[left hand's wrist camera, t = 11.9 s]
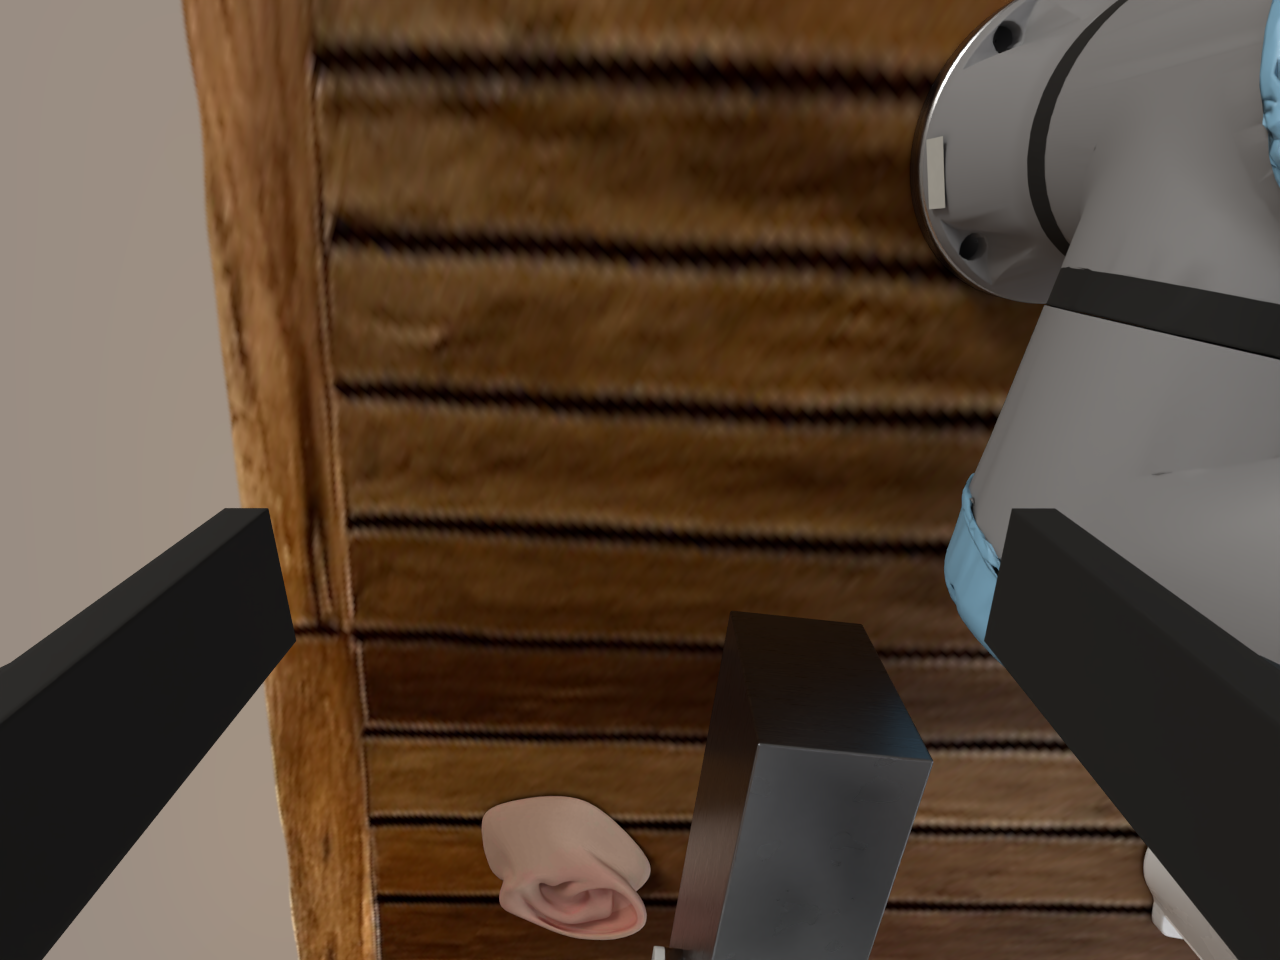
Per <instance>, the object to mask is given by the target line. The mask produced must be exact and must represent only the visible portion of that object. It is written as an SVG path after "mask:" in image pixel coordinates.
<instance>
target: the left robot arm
mask: <svg viewBox="0 0 1280 960" xmlns="http://www.w3.org/2000/svg"><path fill="white" fill-rule="evenodd" d="M910 185H911V195H912V201H913V206H914V211H915V214H916V217H917V220H918V224H919V226H920V229H921V231H922V233H923V236H924V238H925V239H926V241H927V243H928V245H929V247H930V248H931V250H932V251H933V252H934V254H935V255H936V257H937V258H938V259H939V260H940V262H941V263H942V264H943V265H944V266H945V267H946V268H947V269H948V270H949V271H950V272H951V273H953V274H954V275H955V276H956V277H957V278H959V279H960V280H962V281H963V282H965V283H966V284H968V285H970V286H972V287H974V288H976V289H977V290H980V291H982V292H985V293H988V294H990V295H994V296H998V297H1002V298H1006V299H1010V300H1014V301H1019V302H1026V303H1039V304H1045V303H1046V304H1047V305H1050V306H1047V305H1044V307H1043V310H1042V312H1041V315H1040V317H1039V320H1038V322H1037V325H1036V327H1035V329H1034V332H1033V334H1032V337H1031V339H1030V342H1029V344H1028V347H1027V349H1026V351H1025V354H1024V356H1023V359H1022V361H1021V364H1020V366H1019V369H1018V371H1017V373H1016V376H1015V378H1014V381H1013V383H1012V386H1011V388H1010V391H1009V393H1008V395H1007V398H1006V400H1005V403H1004V405H1003V408H1002V410H1001V413H1000V415H999V417H998V420H997V422H996V425H995V427H994V430H993V432H992V434H991V437H990V439H989V441H988V444H987V446H986V448H985V451H984V453H983V455H982V457H981V460H980V462H979V464H978V467H977V469H976V471H975V473H973V474H971V476H970V477H969V479H968V480H967V482H966V485H965V488H964V489H963V493H962V508H961V511H960V514H959V517H958V520H957V523H956V527H955V530H954V532H953V535H952V538H951V541H950V543H949V546H948V549H947V553H946V557H945V565H944V573H945V581H946V585H947V588H948V590H949V593H950V596H951V598H952V600H953V601H954V603H955V604H956V605H957V611H958V613H959V615H960V617H961V618H962V620H963V621H964V623H965V624H966V626H967V627H968V628H969V630H970V631H971V632H972V634H973V635H974V636H975V637H976V638H977V640H978V641H979V642H980V643H981V644H982V645H983V646H984V647H985V648H986V649H987V651H988V652H989V653H990V654H991V655H992V656H993V657H994V658H995V659H996V660H997V661H998V662H1000V663H1001V664H1002V665H1003V666H1004V667H1005V668H1006V669H1007V671H1008V672H1009V673H1010V674H1011V676H1012V677H1013V678H1014V679H1015V681H1016V682H1017V683H1018V684H1019V686H1020V687H1021V688H1022V689H1023V691H1024V692H1025V693H1026V694H1027V696H1028V697H1029V698H1030V699H1031V701H1032V702H1033V703H1034V704H1035V706H1036V707H1037V708H1038V709H1039V711H1040V712H1041V713H1042V714H1043V716H1044V717H1045V718H1046V719H1047V721H1048V722H1049V723H1050V724H1051V726H1052V727H1053V728H1054V730H1055V731H1056V732H1057V733H1058V735H1059V736H1060V737H1061V738H1062V740H1063V741H1064V742H1065V743H1066V745H1067V746H1068V747H1069V748H1070V750H1071V751H1072V752H1073V753H1074V755H1075V756H1076V757H1077V758H1078V760H1079V761H1080V762H1081V763H1082V765H1083V766H1084V767H1085V768H1086V770H1087V771H1088V772H1089V773H1090V775H1091V776H1092V777H1093V778H1094V780H1095V781H1096V782H1097V783H1098V785H1099V786H1100V787H1101V788H1102V790H1103V791H1104V792H1105V794H1106V795H1107V796H1108V797H1109V799H1110V800H1111V801H1112V802H1113V804H1114V805H1115V806H1116V807H1117V809H1118V810H1119V811H1120V812H1121V814H1122V815H1123V816H1124V817H1125V819H1126V820H1127V821H1128V822H1129V824H1130V825H1131V826H1132V827H1133V829H1134V830H1135V831H1136V832H1137V834H1138V835H1139V836H1140V837H1141V839H1142V840H1143V841H1144V842H1145V844H1146V845H1147V846H1148V847H1149V849H1150V850H1151V851H1152V853H1153V854H1154V855H1155V856H1156V858H1157V859H1158V860H1159V861H1160V863H1161V864H1162V865H1163V866H1164V868H1165V869H1166V870H1167V871H1168V873H1169V874H1170V875H1171V876H1172V878H1173V879H1174V880H1175V881H1176V883H1177V884H1178V885H1179V886H1180V888H1181V889H1182V890H1183V891H1184V893H1185V894H1186V895H1187V896H1188V898H1189V899H1190V900H1191V901H1192V903H1193V904H1194V905H1195V906H1196V908H1197V909H1198V910H1199V911H1200V913H1201V914H1202V915H1203V917H1204V918H1205V919H1206V920H1207V922H1208V923H1209V924H1210V925H1211V927H1212V928H1213V929H1214V930H1215V932H1216V933H1217V934H1218V935H1219V937H1220V938H1221V939H1222V940H1223V942H1224V943H1225V944H1226V945H1227V947H1228V948H1229V949H1230V950H1231V952H1232V953H1233V954H1234V955H1235V957H1236V958H1237V959H1238V960H1280V0H1013V1H1011V2H1010V3H1008V4H1007V5H1005V6H1004V7H1002V8H1000V9H999V10H997V11H996V12H995V13H993V14H992V15H991V16H990V17H988V18H987V19H986V20H984V21H983V22H982V23H981V24H980V25H979V26H978V27H977V28H976V29H974V30H973V31H972V32H971V33H970V34H969V35H968V37H967V38H966V39H965V40H964V41H963V42H962V43H961V44H960V45H959V46H958V48H957V49H956V50H955V52H954V53H953V54H952V55H951V57H950V58H949V59H948V61H947V62H946V64H945V65H944V67H943V68H942V70H941V71H940V73H939V75H938V76H937V78H936V80H935V82H934V84H933V86H932V87H931V89H930V92H929V94H928V96H927V98H926V100H925V103H924V105H923V108H922V111H921V114H920V116H919V119H918V123H917V127H916V131H915V134H914V140H913V145H912V151H911V163H910ZM1056 307H1057V308H1056ZM1061 308H1062V309H1061ZM1065 309H1067V310H1065ZM1070 310H1072V311H1070ZM1074 311H1077V312H1074ZM1079 312H1082V313H1079ZM1083 313H1087V314H1083ZM1088 314H1091V315H1088ZM1092 315H1095V316H1092ZM1097 316H1100V317H1097ZM1101 317H1104V318H1101ZM1106 318H1108V319H1106ZM1110 319H1113V320H1110ZM1115 320H1117V321H1115ZM1119 321H1121V322H1119ZM1123 322H1126V323H1123ZM1128 323H1130V324H1128ZM1132 324H1134V325H1132ZM1137 325H1139V326H1137ZM1141 326H1143V327H1141ZM1146 327H1147V328H1146ZM1150 328H1151V329H1150ZM1154 329H1155V330H1154ZM1224 345H1225V346H1224ZM1233 347H1234V348H1233ZM295 642H296V638H295V633H294V629H293V624H292V619H291V614H290V610H289V605H288V600H287V595H286V591H285V586H284V581H283V576H282V572H281V567H280V562H279V557H278V553H277V548H276V543H275V538H274V534H273V529H272V524H271V519H270V514H269V510H268V508H225V509H223V510H222V511H220V512H219V513H218V514H216V515H215V516H214V517H212V518H211V519H209V520H208V521H207V522H205V523H204V524H202V525H201V526H200V527H198V528H197V529H195V530H194V531H193V532H191V533H190V534H189V535H187V536H186V537H184V538H183V539H182V540H180V541H179V542H177V543H176V544H175V545H173V546H172V547H170V548H169V549H168V550H166V551H165V552H164V553H162V554H161V555H159V556H158V557H157V558H155V559H154V560H152V561H151V562H150V563H148V564H147V565H145V566H144V567H143V568H141V569H140V570H139V571H137V572H136V573H134V574H133V575H132V576H130V577H129V578H127V579H126V580H125V581H123V582H122V583H121V584H119V585H118V586H116V587H115V588H114V589H112V590H111V591H109V592H108V593H107V594H105V595H104V596H102V597H101V598H100V599H98V600H97V601H96V602H94V603H93V604H91V605H90V606H89V607H87V608H86V609H85V610H83V611H82V612H80V613H79V614H77V615H76V616H75V617H73V618H72V619H71V620H69V621H68V622H66V623H65V624H64V625H62V626H61V627H59V628H58V629H57V630H55V631H54V632H53V633H51V634H50V635H48V636H47V637H46V638H44V639H43V640H41V641H40V642H39V643H37V644H36V645H34V646H33V647H32V648H30V649H29V650H28V651H26V652H25V653H23V654H22V655H21V656H19V657H18V658H16V659H15V660H14V661H12V662H11V663H9V664H7V665H5V666H3V667H1V668H0V960H42V959H43V958H44V957H45V955H46V954H47V953H48V952H49V950H50V949H51V948H52V947H53V945H54V944H55V943H56V942H57V940H58V939H59V938H60V937H61V935H62V934H63V933H64V932H65V930H66V929H67V928H68V927H69V925H70V924H71V923H72V921H73V920H74V919H75V918H76V916H77V915H78V914H79V913H80V911H81V910H82V909H83V908H84V906H85V905H86V904H87V903H88V901H89V900H90V899H91V898H92V896H93V895H94V894H95V893H96V891H97V890H98V889H99V888H100V886H101V885H102V884H103V883H104V881H105V880H106V879H107V878H108V876H109V875H110V874H111V873H112V871H113V870H114V869H115V868H116V866H117V865H118V864H119V863H120V861H121V860H122V859H123V857H124V856H125V855H126V854H127V853H128V851H129V850H130V849H131V847H132V846H133V845H134V844H135V842H136V841H137V840H138V839H139V837H140V836H141V835H142V834H143V832H144V831H145V830H146V829H147V827H148V826H149V825H150V824H151V822H152V821H153V820H154V819H155V817H156V816H157V815H158V814H159V812H160V811H161V810H162V809H163V807H164V806H165V805H166V804H167V802H168V801H169V800H170V799H171V797H172V796H173V795H174V793H175V792H176V791H177V790H178V788H179V787H180V786H181V785H182V783H183V782H184V781H185V780H186V778H187V777H188V776H189V775H190V773H191V772H192V771H193V770H194V768H195V767H196V766H197V765H198V763H199V762H200V761H201V760H202V758H203V757H204V756H205V755H206V753H207V752H208V751H209V750H210V748H211V747H212V746H213V745H214V743H215V742H216V741H217V739H218V738H219V737H220V736H221V735H222V733H223V732H224V731H225V730H226V728H227V727H228V726H229V724H230V723H231V722H232V721H233V719H234V718H235V717H236V716H237V714H238V713H239V712H240V711H241V709H242V708H243V707H244V706H245V704H246V703H247V702H248V701H249V699H250V698H251V697H252V696H253V694H254V693H255V692H256V691H257V689H258V688H259V687H260V686H261V684H262V683H263V682H264V681H265V679H266V678H267V677H268V676H269V674H270V673H271V672H272V671H273V669H274V668H275V667H276V665H277V664H278V663H279V662H280V660H281V659H282V658H283V657H284V655H285V654H286V653H287V652H288V650H289V649H290V648H291V647H292V645H293V644H294V643H295Z"/></svg>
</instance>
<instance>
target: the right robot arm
mask: <svg viewBox="0 0 1280 960" xmlns="http://www.w3.org/2000/svg"><path fill="white" fill-rule="evenodd" d="M1143 871H1144V877H1145V881H1146V884H1147V886H1148V888H1149V890H1150V891H1151V893H1152V896H1153V899H1154V903H1153V909H1152V921H1153V923H1154V924H1155V925H1156V927H1157V928H1158V929H1159V930H1160V931H1161V932H1162V934H1164V935H1165V936H1168V937H1173V938H1179V939H1184V940H1185V941H1186V943H1187V944H1188V945H1189V946H1190V947H1191V949H1192V950H1193V951H1194V952H1195V953H1196V955H1197V956H1198V957H1199V958H1200V959H1201V960H1238V959H1237V958H1236V957H1235V955H1234V954H1233V953H1232V952H1231V950H1230V949H1229V948H1228V947H1227V945H1226V944H1225V943H1224V942H1223V940H1222V939H1221V938H1220V937H1219V935H1218V934H1217V933H1216V932H1215V930H1214V929H1213V928H1212V927H1211V925H1210V924H1209V923H1208V922H1207V920H1206V919H1205V918H1204V917H1203V915H1202V914H1201V913H1200V911H1199V910H1198V909H1197V908H1196V906H1195V905H1194V904H1193V903H1192V901H1191V900H1190V899H1189V898H1188V896H1187V895H1186V894H1185V893H1184V891H1183V890H1182V889H1181V888H1180V886H1179V885H1178V884H1177V883H1176V881H1175V880H1174V879H1173V878H1172V876H1171V875H1170V874H1169V873H1168V871H1167V870H1166V869H1165V868H1164V866H1163V865H1162V864H1161V863H1160V861H1159V860H1158V859H1157V858H1156V856H1155V855H1154V854H1153V853H1152V851H1151V850H1150V849H1149V847H1148V848H1147V851H1146V854H1145V858H1144V865H1143ZM652 960H683V949H680V948H670V947H661V946H654V949H653V955H652Z"/></svg>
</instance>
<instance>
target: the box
mask: <svg viewBox="0 0 1280 960" xmlns="http://www.w3.org/2000/svg"><path fill="white" fill-rule="evenodd" d="M932 765H933V760H932V758H931V756H930V754H929V752H928V750H927V748H926V746H925V744H924V742H923V740H922V739H921V737H920V735H919V733H918V731H917V729H916V727H915V725H914V723H913V721H912V719H911V717H910V716H909V714H908V712H907V710H906V708H905V706H904V704H903V702H902V700H901V698H900V696H899V694H898V693H897V691H896V689H895V687H894V685H893V683H892V681H891V679H890V677H889V675H888V673H887V671H886V670H885V668H884V666H883V664H882V662H881V660H880V658H879V656H878V654H877V652H876V650H875V648H874V647H873V645H872V643H871V641H870V639H869V637H868V635H867V633H866V631H865V629H864V627H863V625H861V624H854V623H845V622H835V621H825V620H816V619H806V618H796V617H787V616H777V615H767V614H758V613H748V612H738V611H731V612H730V616H729V622H728V627H727V633H726V638H725V644H724V649H723V655H722V660H721V666H720V671H719V677H718V682H717V688H716V693H715V699H714V704H713V710H712V715H711V721H710V726H709V732H708V737H707V743H706V748H705V754H704V759H703V765H702V770H701V776H700V781H699V787H698V792H697V798H696V803H695V809H694V814H693V820H692V825H691V831H690V836H689V842H688V847H687V853H686V858H685V864H684V869H683V875H682V880H681V886H680V891H679V897H678V902H677V908H676V913H675V919H674V924H673V930H672V935H671V941H670V946H669V947H670V948H680V949H683V960H868V958H869V955H870V952H871V949H872V946H873V943H874V940H875V937H876V934H877V931H878V928H879V925H880V922H881V919H882V916H883V913H884V910H885V907H886V904H887V901H888V898H889V895H890V892H891V889H892V886H893V883H894V880H895V877H896V874H897V871H898V867H899V864H900V861H901V858H902V855H903V852H904V849H905V846H906V843H907V840H908V837H909V834H910V831H911V828H912V825H913V822H914V819H915V816H916V813H917V810H918V807H919V804H920V801H921V798H922V795H923V792H924V789H925V786H926V783H927V780H928V777H929V774H930V771H931V768H932Z"/></svg>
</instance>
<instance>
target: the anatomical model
mask: <svg viewBox="0 0 1280 960" xmlns="http://www.w3.org/2000/svg"><path fill="white" fill-rule="evenodd" d="M482 837H483V845H484V851H485V854H486V857H487V860H488V863H489V866H490V868H491V870H492V871H493V873H494V874H495V875H496V876H497V877H498V878H500V879H501V880H503V884H502V887H501V891H500V895H499V900H500V904H501V906H502V907H503V908H504V909H505V910H506V911H508V912H510V913H512V914H514V915H516V916H519V917H521V918H523V919H526V920H528V921H530V922H533V923H535V924H537V925H540V926H542V927H544V928H547V929H549V930H552V931H554V932H557V933H559V934H563V935H566V936H569V937H574V938H580V939H591V940H609V939H617V938H622V937H626V936H629V935H631V934H634V933H636V932H637V931H639V930H640V929H641V928H642V927H643V926H644V925H645V923H646V917H647V914H646V909H645V906H644V904H643V901H642V900H641V898H640V896H639V895H638V894H637V892H636V891H637V890H638V889H639V888H641V887H642V886H643V885H644V883H645V882H646V881H647V879H648V878H649V875H650V870H651V869H650V864H649V862H648V859H647V858H646V856H645V855H644V853H643V852H642V850H641V849H640V848H639V846H638V845H637V844H636V843H635V842H634V841H633V839H632V838H631V837H630V836H629V835H628V834H627V833H626V832H625V831H624V830H623V829H622V828H621V827H620V826H619V825H618V824H617V823H616V822H615V821H614V820H612V819H611V818H610V817H609V816H608V815H607V814H605V813H604V812H603V811H601V810H600V809H598V808H597V807H595V806H594V805H592V804H590V803H588V802H586V801H583V800H580V799H577V798H572V797H565V796H543V797H533V798H526V799H520V800H515V801H511V802H507V803H503V804H500V805H497V806H495V807H493V808H491V809H490V810H488V811H487V812H486V813H485V815H484V817H483V820H482Z"/></svg>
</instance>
